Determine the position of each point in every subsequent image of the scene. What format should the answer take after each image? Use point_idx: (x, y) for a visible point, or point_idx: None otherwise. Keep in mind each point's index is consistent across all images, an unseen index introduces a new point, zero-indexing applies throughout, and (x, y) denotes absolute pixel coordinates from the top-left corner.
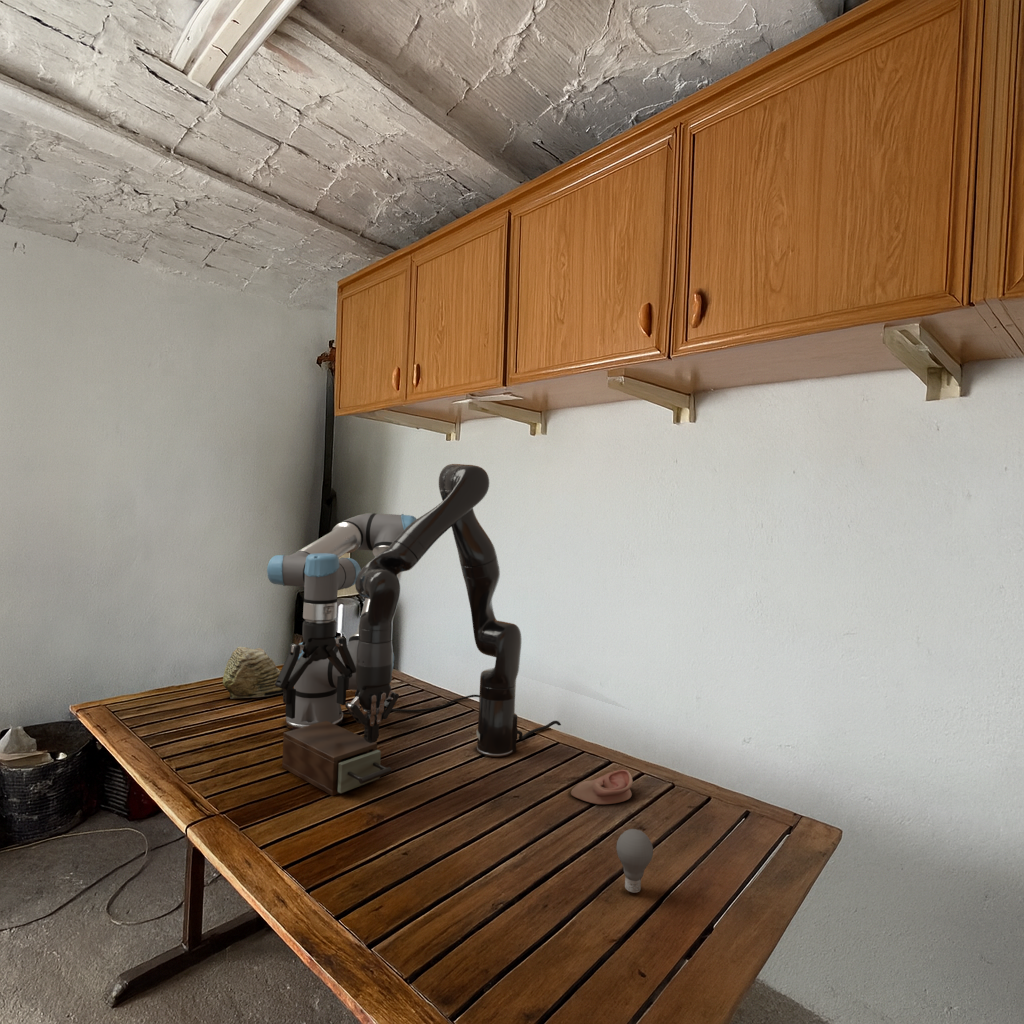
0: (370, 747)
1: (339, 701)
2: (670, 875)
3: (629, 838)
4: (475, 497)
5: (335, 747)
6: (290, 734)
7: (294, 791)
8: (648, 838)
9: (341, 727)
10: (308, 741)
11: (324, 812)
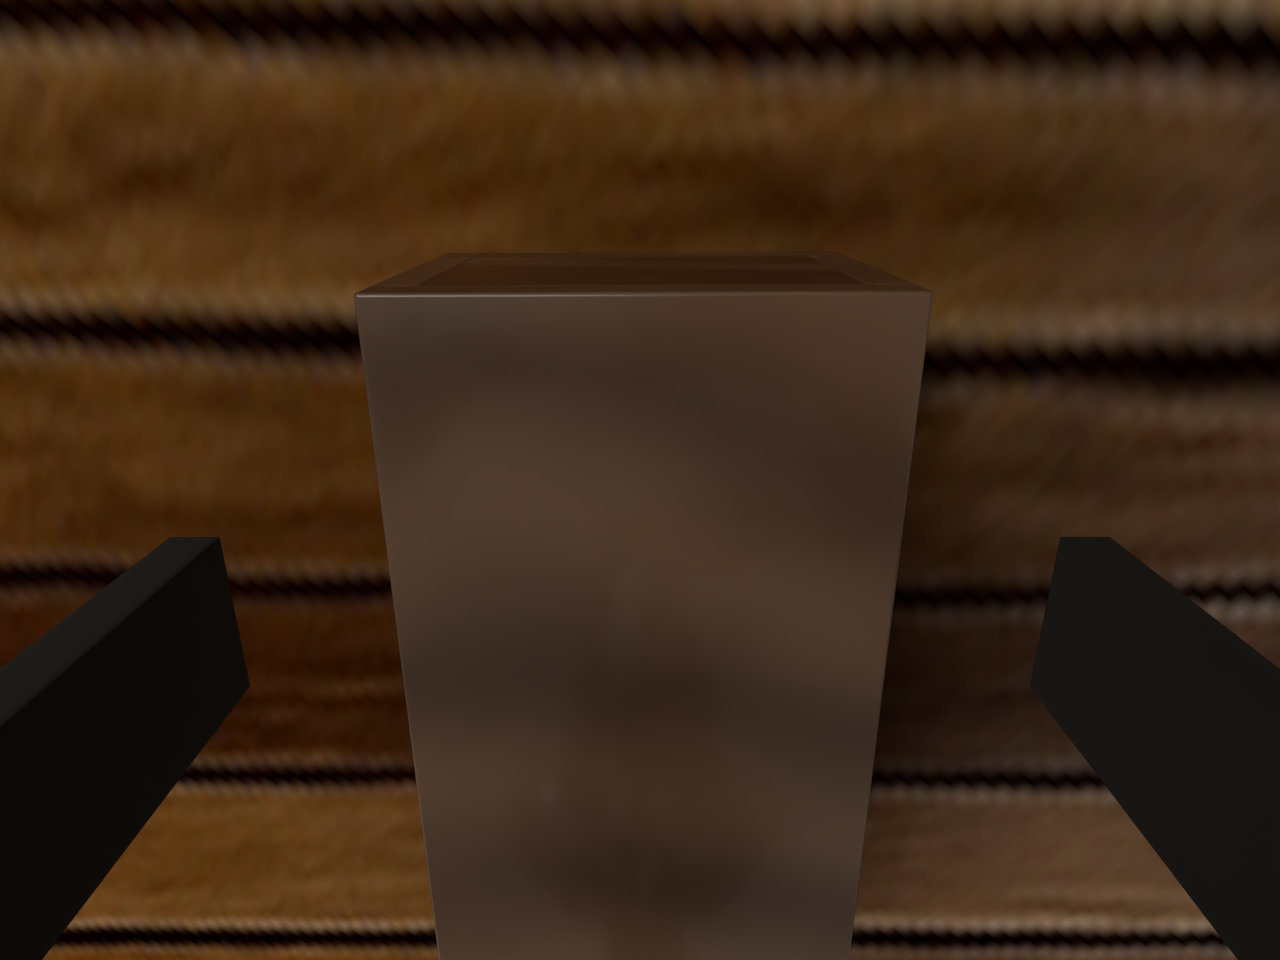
0: None
1: (1063, 628)
2: None
3: None
4: None
5: (557, 881)
6: (388, 399)
7: (353, 620)
8: None
9: (895, 575)
10: (446, 662)
11: (374, 884)
